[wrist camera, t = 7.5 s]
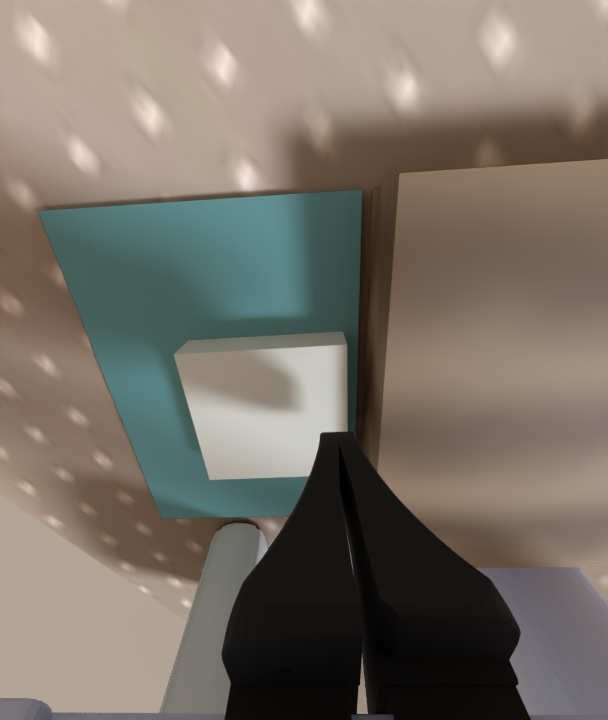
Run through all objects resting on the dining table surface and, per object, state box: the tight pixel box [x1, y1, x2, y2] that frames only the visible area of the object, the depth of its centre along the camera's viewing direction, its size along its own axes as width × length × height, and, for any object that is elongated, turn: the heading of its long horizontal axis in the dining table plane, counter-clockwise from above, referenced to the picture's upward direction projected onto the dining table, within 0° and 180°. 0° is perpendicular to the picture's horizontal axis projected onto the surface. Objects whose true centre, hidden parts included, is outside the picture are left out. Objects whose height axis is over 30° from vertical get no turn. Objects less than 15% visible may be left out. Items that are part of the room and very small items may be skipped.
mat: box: [38, 189, 362, 519], centre depth 16 cm, size 20×14×1 cm
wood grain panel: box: [362, 159, 608, 568], centre depth 14 cm, size 20×16×4 cm
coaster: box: [174, 331, 348, 480], centre depth 15 cm, size 8×8×2 cm
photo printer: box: [159, 523, 268, 713], centre depth 18 cm, size 10×4×12 cm, turn 3°
